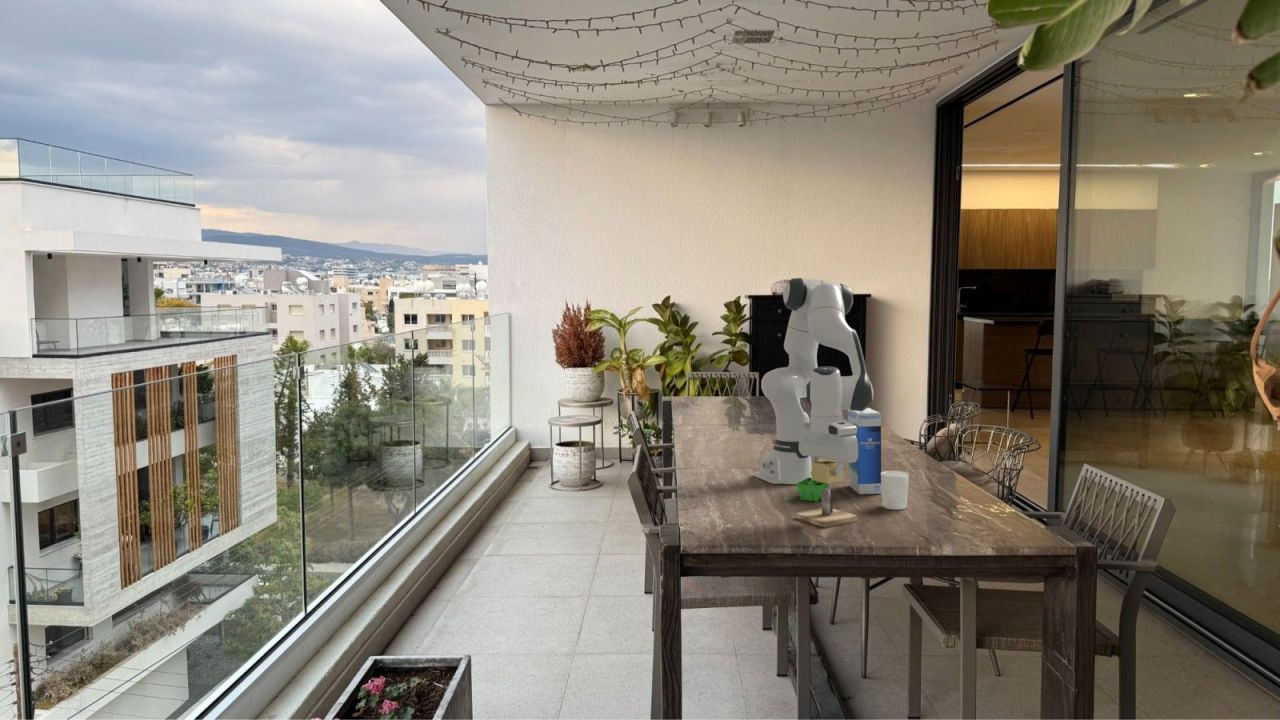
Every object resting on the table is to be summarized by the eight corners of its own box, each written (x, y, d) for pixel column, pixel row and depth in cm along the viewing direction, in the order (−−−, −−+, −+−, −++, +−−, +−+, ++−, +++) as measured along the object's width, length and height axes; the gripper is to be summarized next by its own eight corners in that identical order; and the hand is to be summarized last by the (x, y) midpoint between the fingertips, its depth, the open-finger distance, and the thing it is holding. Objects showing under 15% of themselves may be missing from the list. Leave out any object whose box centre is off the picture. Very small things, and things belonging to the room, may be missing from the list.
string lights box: (882, 494, 263) (882, 412, 261) (858, 494, 262) (857, 413, 261) (870, 485, 276) (870, 407, 274) (847, 485, 276) (846, 408, 274)
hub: (811, 479, 234) (811, 462, 234) (828, 476, 238) (827, 459, 237) (827, 483, 229) (826, 465, 229) (843, 480, 232) (843, 462, 232)
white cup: (890, 511, 242) (890, 477, 241) (875, 505, 249) (875, 472, 249) (914, 508, 244) (914, 475, 243) (898, 502, 251) (898, 470, 251)
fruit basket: (807, 492, 267) (807, 457, 266) (835, 495, 263) (834, 460, 262) (795, 500, 257) (794, 464, 257) (823, 503, 253) (822, 466, 252)
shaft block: (795, 518, 236) (795, 488, 236) (827, 512, 242) (827, 483, 242) (825, 527, 226) (824, 496, 226) (857, 520, 232) (857, 490, 232)
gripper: (793, 422, 240) (794, 470, 241) (844, 430, 222) (845, 481, 223) (809, 420, 243) (810, 467, 244) (861, 427, 225) (862, 478, 226)
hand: (827, 474), depth 233 cm, fingers closed on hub, 6 cm apart
